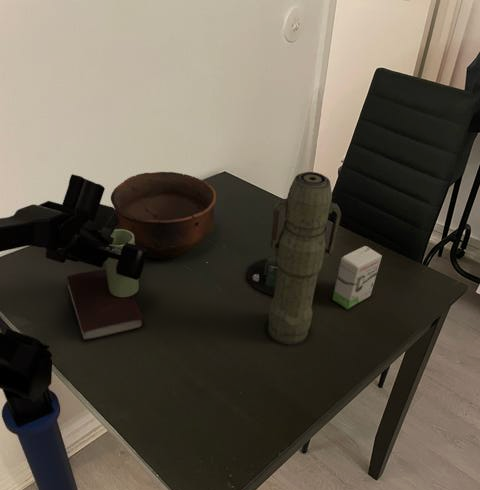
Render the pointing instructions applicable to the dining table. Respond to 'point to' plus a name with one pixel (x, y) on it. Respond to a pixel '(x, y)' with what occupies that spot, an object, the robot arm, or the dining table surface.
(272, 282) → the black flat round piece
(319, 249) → the thermos
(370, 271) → the ink box
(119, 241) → the pencil cup
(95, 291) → the book
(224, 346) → the dining table surface
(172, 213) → the bowl
